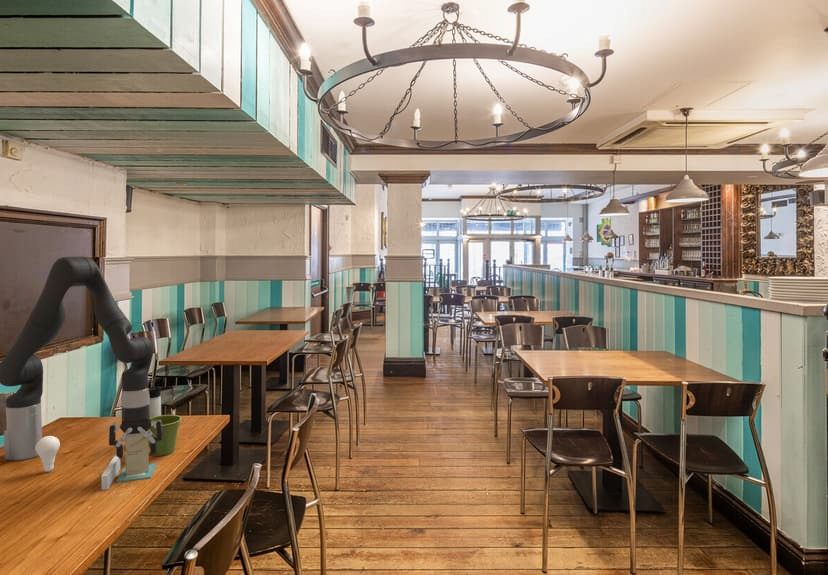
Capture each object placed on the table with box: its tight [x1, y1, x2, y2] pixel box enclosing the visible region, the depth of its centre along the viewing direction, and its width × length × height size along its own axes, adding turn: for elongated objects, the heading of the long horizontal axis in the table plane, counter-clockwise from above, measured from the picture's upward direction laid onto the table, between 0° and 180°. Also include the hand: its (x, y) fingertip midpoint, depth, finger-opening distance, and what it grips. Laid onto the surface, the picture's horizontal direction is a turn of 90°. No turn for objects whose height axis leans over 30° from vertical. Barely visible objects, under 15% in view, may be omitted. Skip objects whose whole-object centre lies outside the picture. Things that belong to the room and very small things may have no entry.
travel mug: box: [148, 386, 162, 446], centre depth 181 cm, size 6×7×20 cm
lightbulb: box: [35, 435, 61, 473], centre depth 155 cm, size 6×6×11 cm
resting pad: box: [116, 462, 158, 483], centre depth 155 cm, size 9×11×1 cm
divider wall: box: [100, 455, 121, 491], centre depth 151 cm, size 2×16×4 cm, turn 19°
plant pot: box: [148, 414, 183, 457], centre depth 171 cm, size 12×12×11 cm
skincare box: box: [124, 431, 150, 475], centre depth 154 cm, size 6×4×12 cm
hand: (136, 456), depth 154 cm, fingers open, 8 cm apart
